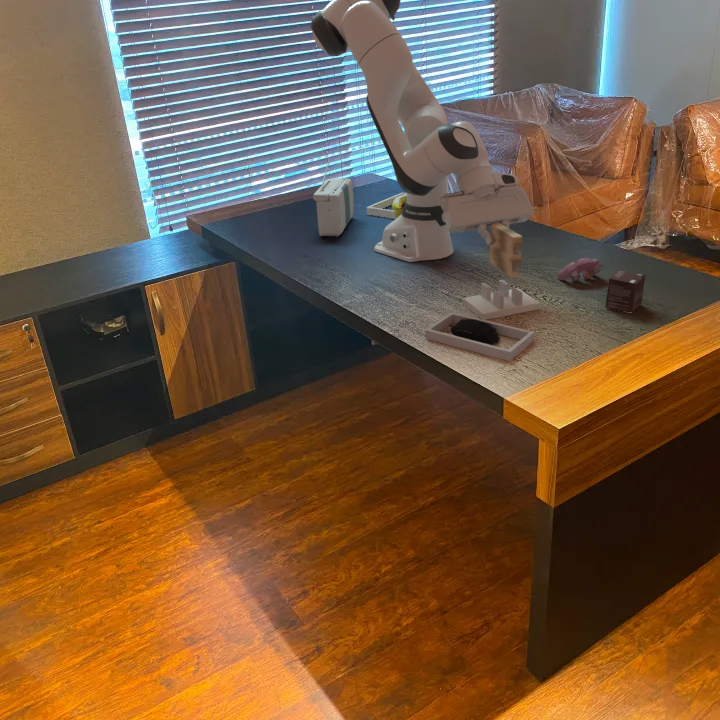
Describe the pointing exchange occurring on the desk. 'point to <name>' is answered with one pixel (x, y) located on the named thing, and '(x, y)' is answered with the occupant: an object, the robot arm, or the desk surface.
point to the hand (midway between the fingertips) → (498, 242)
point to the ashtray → (397, 202)
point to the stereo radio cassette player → (334, 205)
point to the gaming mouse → (475, 331)
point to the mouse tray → (479, 347)
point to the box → (625, 291)
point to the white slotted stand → (500, 302)
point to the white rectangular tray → (378, 207)
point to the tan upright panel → (506, 250)
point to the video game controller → (580, 269)
